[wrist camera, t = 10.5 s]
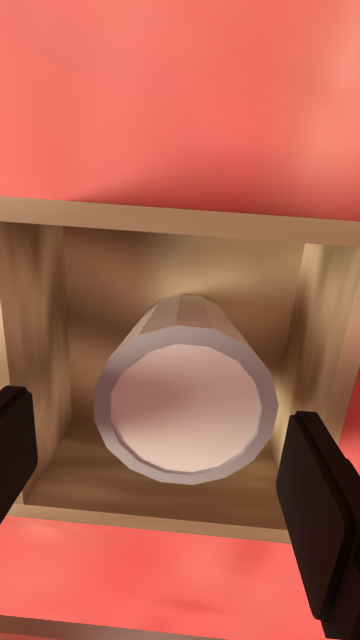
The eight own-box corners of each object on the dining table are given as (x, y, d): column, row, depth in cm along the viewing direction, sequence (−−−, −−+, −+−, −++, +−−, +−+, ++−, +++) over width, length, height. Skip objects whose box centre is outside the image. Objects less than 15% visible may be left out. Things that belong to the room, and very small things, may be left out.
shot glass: (114, 376, 19) (75, 463, 12) (142, 267, 17) (114, 301, 10) (222, 405, 19) (241, 504, 13) (263, 303, 17) (311, 358, 11)
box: (55, 203, 17) (-35, 193, 10) (317, 221, 17) (398, 223, 10) (66, 423, 22) (8, 515, 15) (275, 442, 21) (310, 545, 14)
